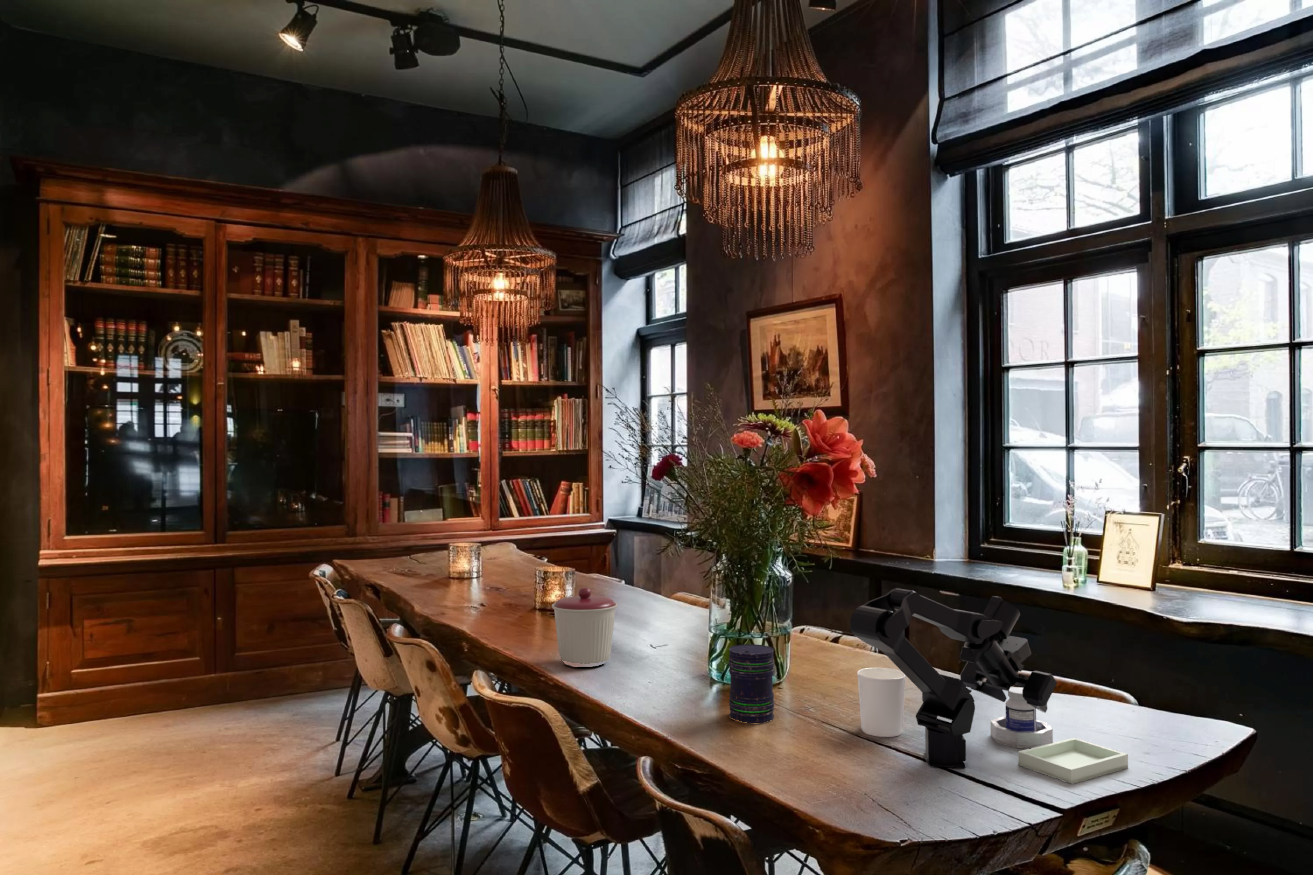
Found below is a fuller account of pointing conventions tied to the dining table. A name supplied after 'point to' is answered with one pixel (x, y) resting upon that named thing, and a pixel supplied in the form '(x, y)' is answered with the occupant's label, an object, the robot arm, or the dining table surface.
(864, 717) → the candle holder
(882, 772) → the dining table surface
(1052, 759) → the sage tray
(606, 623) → the canister
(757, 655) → the storage jar
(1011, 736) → the steel collar
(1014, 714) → the pill bottle
